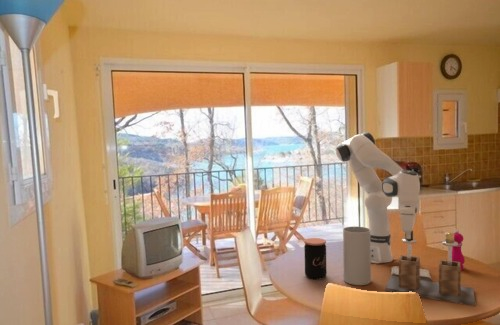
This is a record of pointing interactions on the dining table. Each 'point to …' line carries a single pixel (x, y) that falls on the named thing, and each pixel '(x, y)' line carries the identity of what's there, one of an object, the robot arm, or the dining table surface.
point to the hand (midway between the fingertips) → (409, 237)
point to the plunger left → (409, 245)
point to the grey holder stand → (443, 290)
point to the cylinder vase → (357, 255)
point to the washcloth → (423, 273)
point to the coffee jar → (315, 258)
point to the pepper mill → (458, 249)
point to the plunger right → (449, 245)
